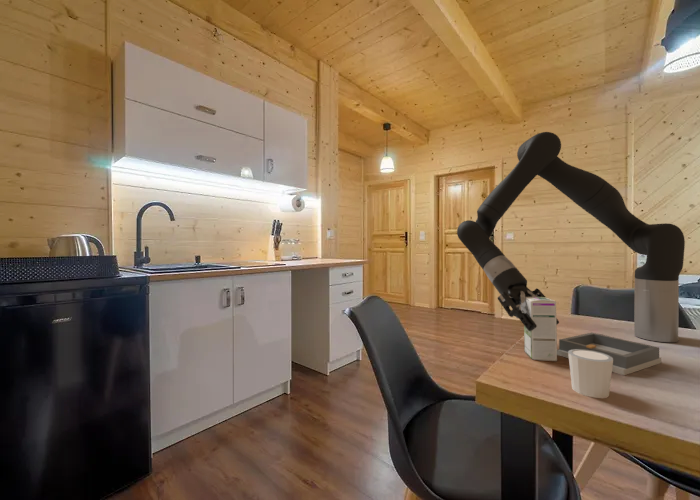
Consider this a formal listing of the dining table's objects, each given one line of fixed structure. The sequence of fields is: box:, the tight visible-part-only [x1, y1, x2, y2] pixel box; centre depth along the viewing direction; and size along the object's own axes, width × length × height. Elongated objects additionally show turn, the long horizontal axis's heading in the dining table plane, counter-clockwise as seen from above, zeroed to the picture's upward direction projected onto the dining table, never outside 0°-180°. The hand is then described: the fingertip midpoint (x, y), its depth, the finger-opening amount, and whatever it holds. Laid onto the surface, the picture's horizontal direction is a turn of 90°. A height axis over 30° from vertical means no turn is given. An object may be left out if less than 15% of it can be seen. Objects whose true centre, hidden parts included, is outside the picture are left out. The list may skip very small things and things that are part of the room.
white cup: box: [568, 349, 613, 399], centre depth 60 cm, size 7×7×7 cm
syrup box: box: [523, 296, 558, 362], centre depth 78 cm, size 6×6×14 cm
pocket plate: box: [557, 332, 662, 376], centre depth 76 cm, size 16×14×4 cm
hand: (544, 326), depth 77 cm, fingers closed on syrup box, 8 cm apart
